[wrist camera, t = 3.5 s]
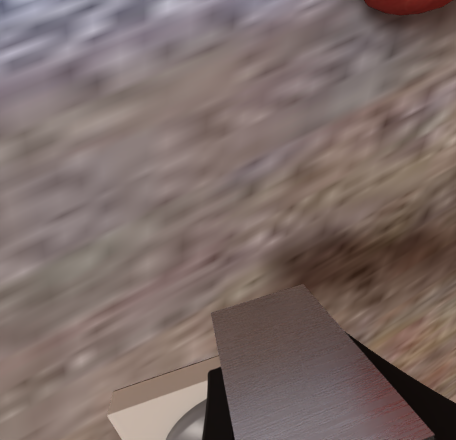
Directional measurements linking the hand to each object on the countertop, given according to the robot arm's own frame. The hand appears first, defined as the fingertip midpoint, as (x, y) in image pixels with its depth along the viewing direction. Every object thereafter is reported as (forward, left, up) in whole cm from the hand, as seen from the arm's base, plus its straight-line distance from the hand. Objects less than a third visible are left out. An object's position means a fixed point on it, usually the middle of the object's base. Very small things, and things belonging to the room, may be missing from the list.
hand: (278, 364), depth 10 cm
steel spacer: (0, 0, -2) cm, 2 cm away
